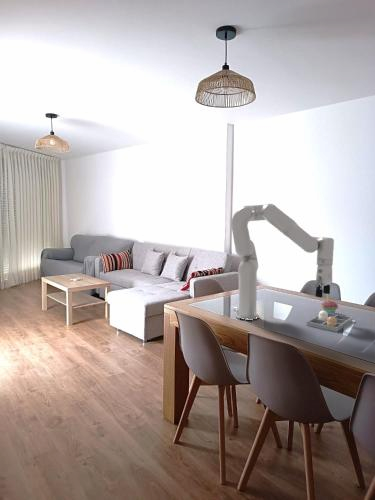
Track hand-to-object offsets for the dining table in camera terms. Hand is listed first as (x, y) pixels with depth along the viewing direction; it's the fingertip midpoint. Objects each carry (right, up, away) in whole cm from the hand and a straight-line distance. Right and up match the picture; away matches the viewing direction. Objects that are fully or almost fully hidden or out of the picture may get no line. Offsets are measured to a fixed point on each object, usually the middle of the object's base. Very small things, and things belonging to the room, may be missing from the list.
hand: (322, 295), depth 186 cm
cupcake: (+10, -13, +17) cm, 24 cm away
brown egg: (+1, -15, -8) cm, 17 cm away
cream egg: (+1, -14, +2) cm, 14 cm away
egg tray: (+3, -15, -1) cm, 15 cm away
